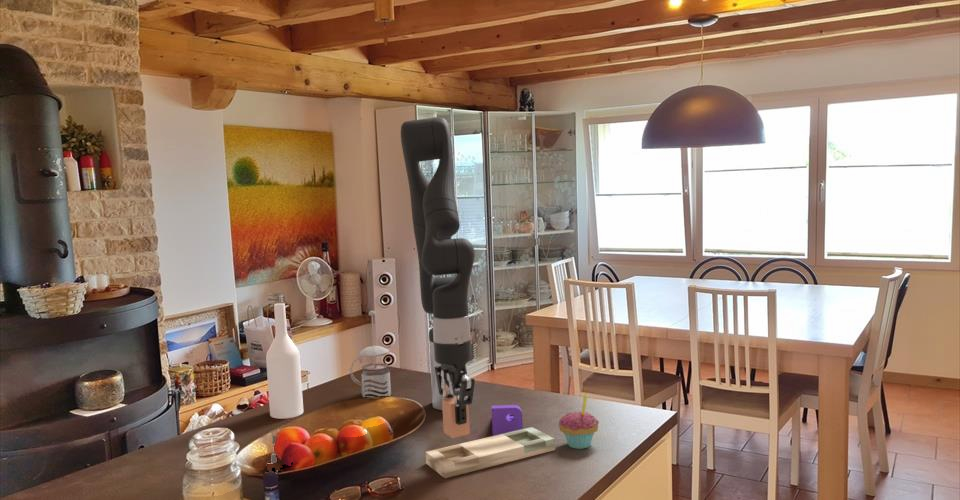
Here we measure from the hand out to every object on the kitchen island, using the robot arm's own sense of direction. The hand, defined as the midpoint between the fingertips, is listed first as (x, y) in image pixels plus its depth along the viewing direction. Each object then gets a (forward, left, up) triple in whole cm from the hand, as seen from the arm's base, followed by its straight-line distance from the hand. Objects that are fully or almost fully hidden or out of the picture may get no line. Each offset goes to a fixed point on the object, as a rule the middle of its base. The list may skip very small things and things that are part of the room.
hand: (456, 420), depth 141 cm
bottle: (-50, -23, -10) cm, 56 cm away
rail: (0, +8, -9) cm, 12 cm away
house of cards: (-17, -31, -10) cm, 36 cm away
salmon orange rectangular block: (0, 0, -3) cm, 3 cm away
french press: (-53, +1, -10) cm, 54 cm away
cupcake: (+5, +27, -10) cm, 29 cm away
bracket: (-14, +20, -10) cm, 26 cm away
